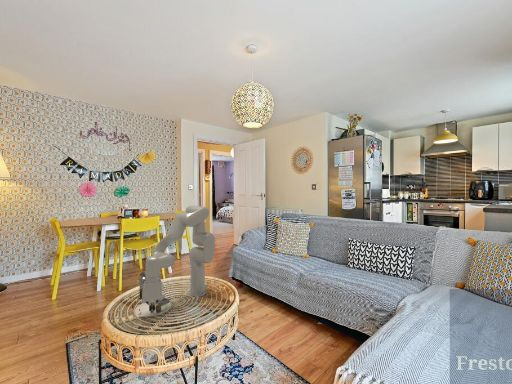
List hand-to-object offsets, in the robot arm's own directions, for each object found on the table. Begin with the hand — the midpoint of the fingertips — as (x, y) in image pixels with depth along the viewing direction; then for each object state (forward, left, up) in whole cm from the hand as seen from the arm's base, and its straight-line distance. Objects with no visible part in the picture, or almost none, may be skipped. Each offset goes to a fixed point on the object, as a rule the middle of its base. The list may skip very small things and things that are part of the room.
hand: (152, 311), depth 137 cm
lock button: (-12, -7, 0) cm, 14 cm away
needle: (-4, -2, -1) cm, 5 cm away
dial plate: (-5, -6, -3) cm, 9 cm away
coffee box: (-13, -23, -3) cm, 26 cm away
